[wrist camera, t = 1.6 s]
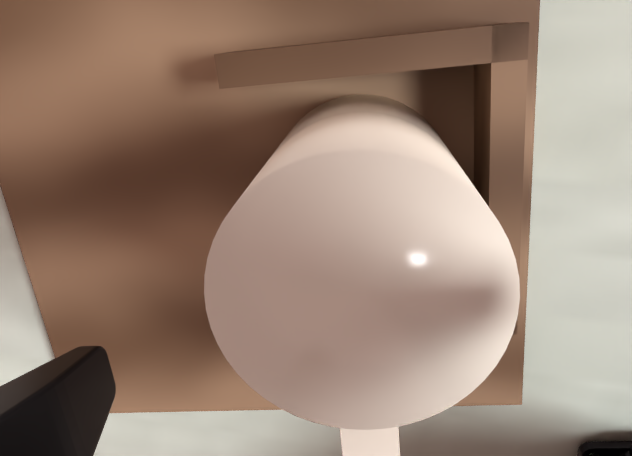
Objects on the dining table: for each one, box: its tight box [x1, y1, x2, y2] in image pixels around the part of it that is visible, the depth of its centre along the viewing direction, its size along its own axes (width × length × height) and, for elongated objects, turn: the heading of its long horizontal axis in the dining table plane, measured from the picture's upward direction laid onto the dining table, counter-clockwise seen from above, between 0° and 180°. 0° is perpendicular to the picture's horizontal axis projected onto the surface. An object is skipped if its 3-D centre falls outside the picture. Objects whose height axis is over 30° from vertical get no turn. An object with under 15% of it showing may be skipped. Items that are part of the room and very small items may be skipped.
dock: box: [0, 0, 540, 413], centre depth 19 cm, size 20×20×4 cm
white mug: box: [204, 94, 520, 456], centre depth 15 cm, size 10×6×9 cm, turn 6°
